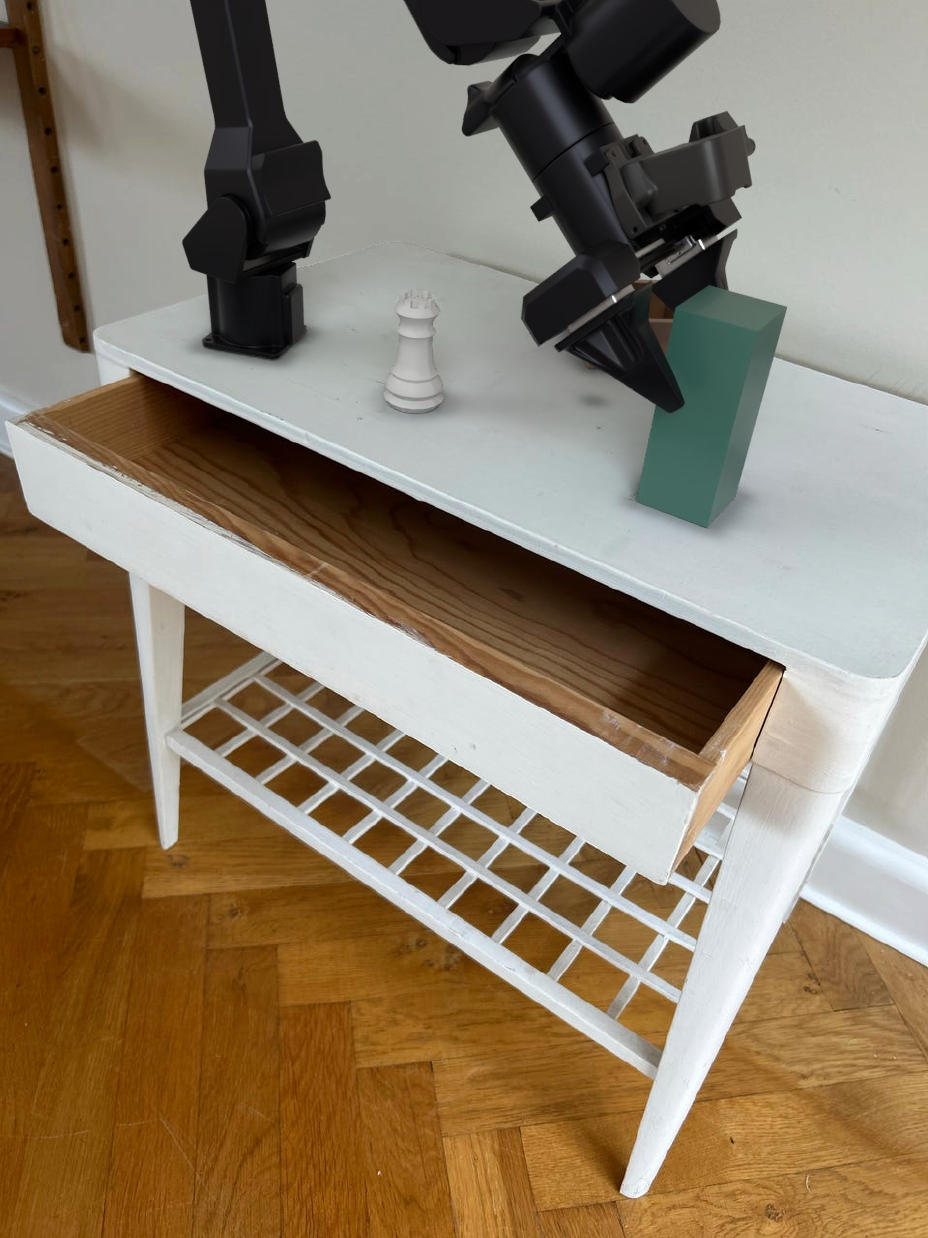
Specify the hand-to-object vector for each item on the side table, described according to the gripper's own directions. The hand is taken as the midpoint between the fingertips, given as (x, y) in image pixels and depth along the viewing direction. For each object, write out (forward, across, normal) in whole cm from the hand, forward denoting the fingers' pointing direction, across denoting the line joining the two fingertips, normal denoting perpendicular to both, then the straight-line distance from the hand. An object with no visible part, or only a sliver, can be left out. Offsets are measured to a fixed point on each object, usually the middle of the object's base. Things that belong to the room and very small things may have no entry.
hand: (708, 383), depth 62 cm
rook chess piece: (-10, 0, +21) cm, 23 cm away
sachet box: (+6, 0, +6) cm, 8 cm away
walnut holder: (-4, +20, +16) cm, 26 cm away
